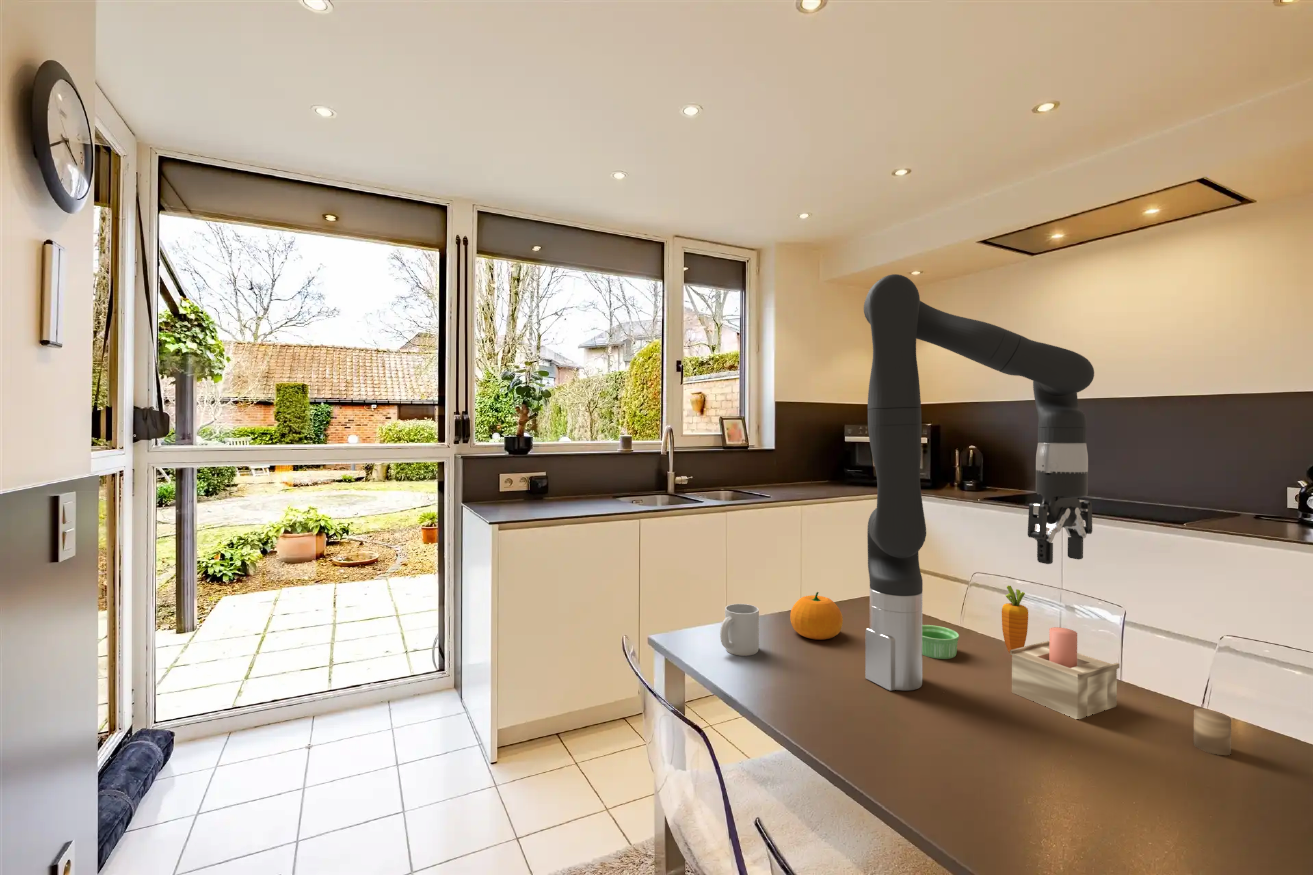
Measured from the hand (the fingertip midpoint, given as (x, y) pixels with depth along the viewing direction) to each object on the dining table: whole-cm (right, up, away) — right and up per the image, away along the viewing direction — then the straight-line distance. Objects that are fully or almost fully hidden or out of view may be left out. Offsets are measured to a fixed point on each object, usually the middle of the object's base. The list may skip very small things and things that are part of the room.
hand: (1060, 560), depth 103 cm
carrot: (+3, -24, +17) cm, 30 cm away
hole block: (0, -24, 0) cm, 24 cm away
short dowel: (+11, -24, -16) cm, 31 cm away
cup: (-54, -24, +22) cm, 63 cm away
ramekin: (-12, -24, +22) cm, 35 cm away
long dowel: (0, -24, 0) cm, 24 cm away
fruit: (-34, -24, +32) cm, 53 cm away
